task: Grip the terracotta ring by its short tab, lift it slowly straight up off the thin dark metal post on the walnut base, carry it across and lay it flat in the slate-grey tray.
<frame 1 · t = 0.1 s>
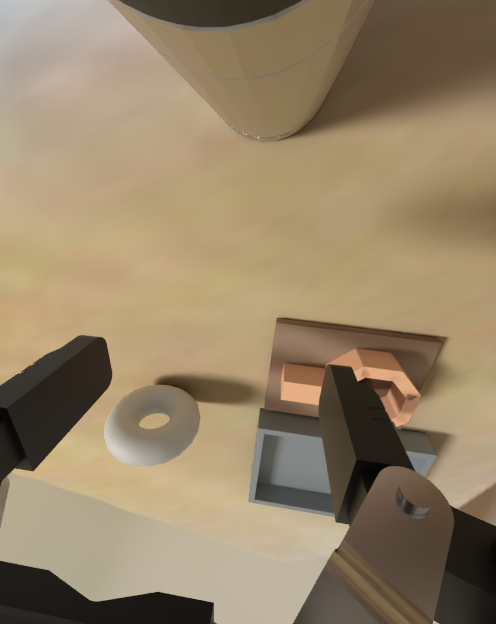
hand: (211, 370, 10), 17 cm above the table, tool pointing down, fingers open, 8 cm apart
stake: (359, 376, 30), on the table
ring: (362, 382, 29), point 1 cm above the table, touching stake
donut: (172, 388, 34), on the table
tray: (327, 459, 36), on the table
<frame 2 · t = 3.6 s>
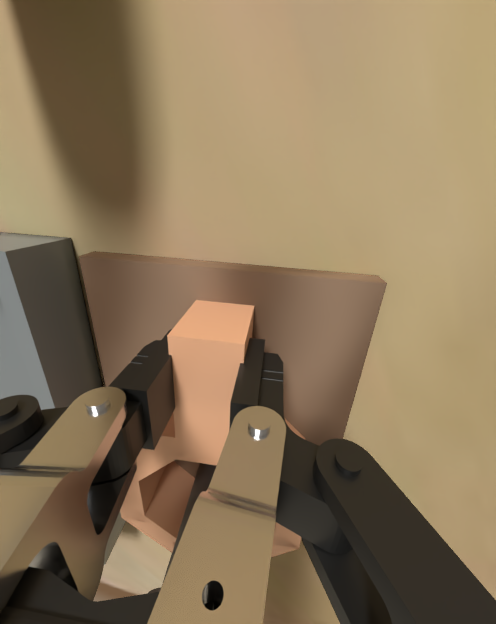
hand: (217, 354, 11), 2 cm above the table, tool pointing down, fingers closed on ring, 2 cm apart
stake: (224, 434, 15), on the table
ring: (221, 450, 14), point 1 cm above the table, touching gripper, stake
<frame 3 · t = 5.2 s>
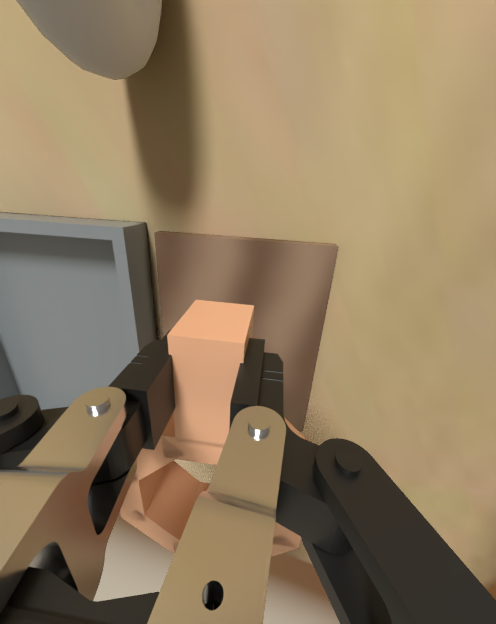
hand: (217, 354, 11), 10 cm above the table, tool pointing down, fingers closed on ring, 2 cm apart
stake: (239, 360, 22), on the table
ring: (221, 449, 14), point 9 cm above the table, touching gripper
tray: (74, 337, 23), on the table
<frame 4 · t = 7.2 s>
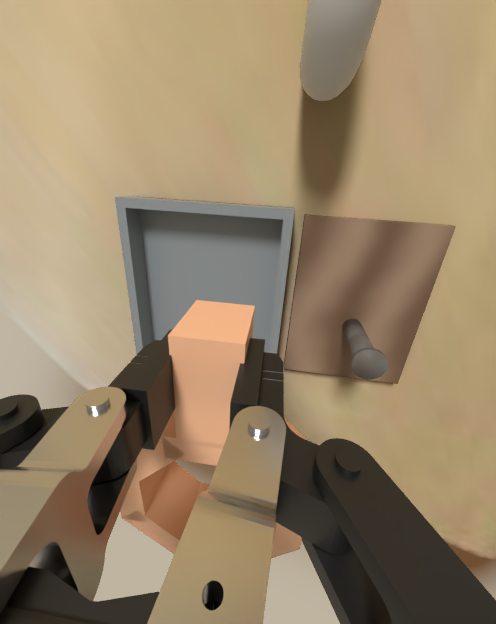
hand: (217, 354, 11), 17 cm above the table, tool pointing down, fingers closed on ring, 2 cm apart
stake: (349, 322, 27), on the table
ring: (222, 450, 14), point 16 cm above the table, touching gripper
donut: (329, 34, 19), on the table
tray: (211, 302, 28), on the table
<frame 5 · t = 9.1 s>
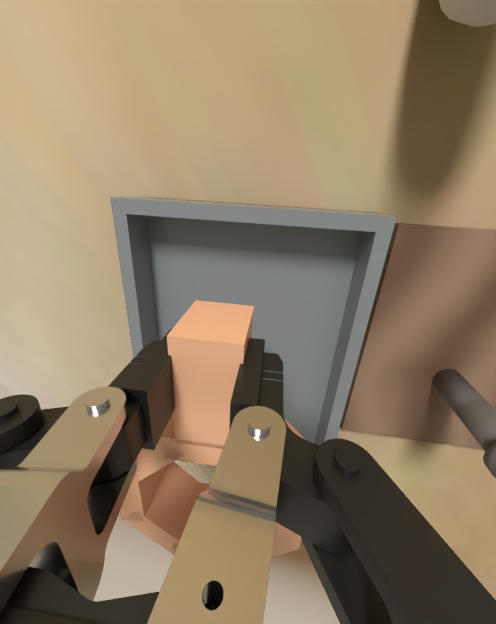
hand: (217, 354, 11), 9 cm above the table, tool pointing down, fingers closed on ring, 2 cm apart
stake: (438, 370, 20), on the table
ring: (221, 450, 14), point 8 cm above the table, touching gripper
tray: (244, 342, 21), on the table
when the fingers open (3 cm above the table, at t = 10.8 s): ring drops 2 cm, resting on tray.
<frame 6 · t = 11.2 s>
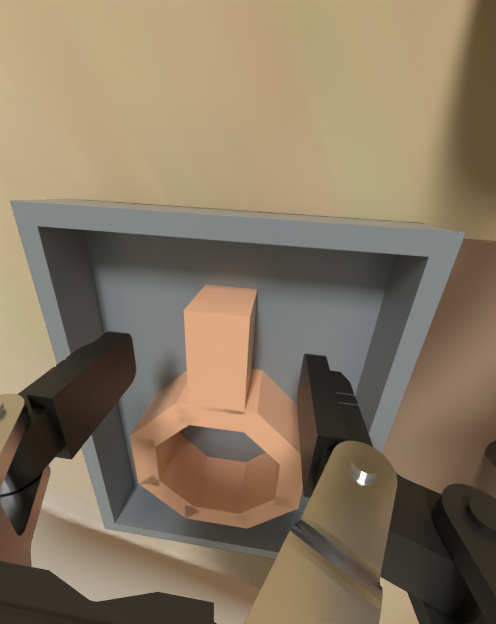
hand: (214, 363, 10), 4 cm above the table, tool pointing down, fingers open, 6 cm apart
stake: (491, 433, 14), on the table
ring: (227, 424, 16), point 1 cm above the table, touching tray
tray: (229, 393, 15), on the table
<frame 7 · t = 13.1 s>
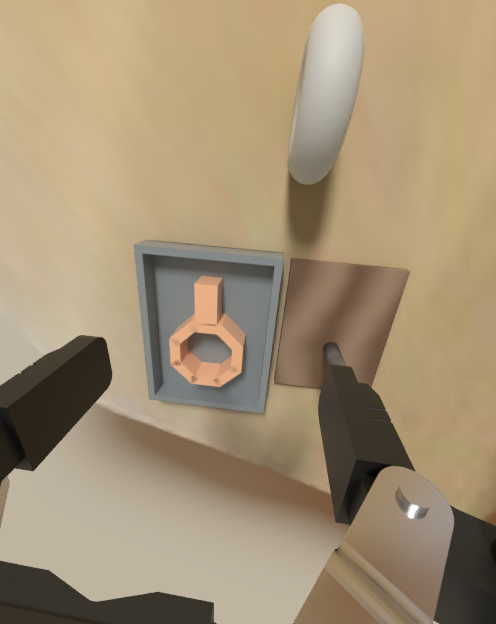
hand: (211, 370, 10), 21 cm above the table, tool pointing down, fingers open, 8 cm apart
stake: (329, 344, 32), on the table
ring: (211, 342, 33), point 1 cm above the table, touching tray
donut: (310, 125, 24), on the table
tray: (212, 327, 33), on the table
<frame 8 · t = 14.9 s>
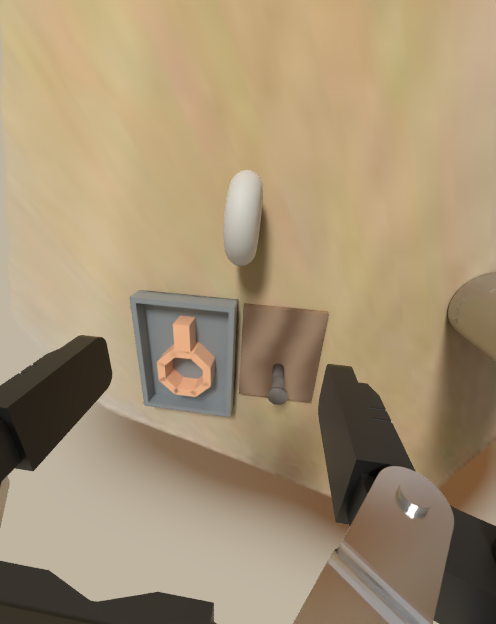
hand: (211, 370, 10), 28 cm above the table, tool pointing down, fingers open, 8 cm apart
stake: (278, 364, 43), on the table
ring: (190, 363, 44), point 1 cm above the table, touching tray
donut: (249, 216, 34), on the table
tray: (190, 351, 44), on the table
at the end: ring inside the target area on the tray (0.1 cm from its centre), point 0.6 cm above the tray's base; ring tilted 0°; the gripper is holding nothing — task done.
